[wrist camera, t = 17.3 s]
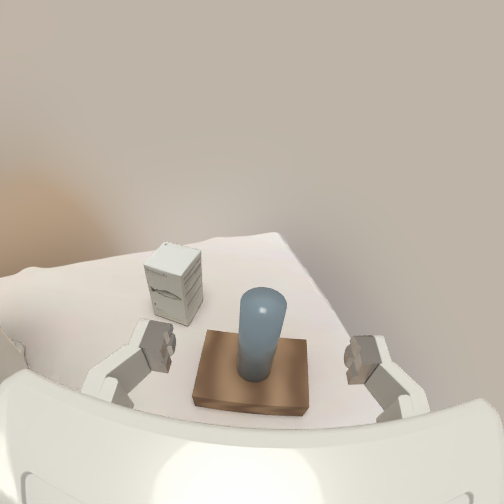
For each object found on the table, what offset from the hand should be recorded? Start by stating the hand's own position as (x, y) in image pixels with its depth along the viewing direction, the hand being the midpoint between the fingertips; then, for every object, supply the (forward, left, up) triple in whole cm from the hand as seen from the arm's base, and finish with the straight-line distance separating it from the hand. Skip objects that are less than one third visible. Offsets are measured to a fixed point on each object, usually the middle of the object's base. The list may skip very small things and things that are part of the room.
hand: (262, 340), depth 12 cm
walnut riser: (+1, +13, -30) cm, 32 cm away
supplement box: (-14, +26, -30) cm, 42 cm away
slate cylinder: (+1, +13, -25) cm, 29 cm away
